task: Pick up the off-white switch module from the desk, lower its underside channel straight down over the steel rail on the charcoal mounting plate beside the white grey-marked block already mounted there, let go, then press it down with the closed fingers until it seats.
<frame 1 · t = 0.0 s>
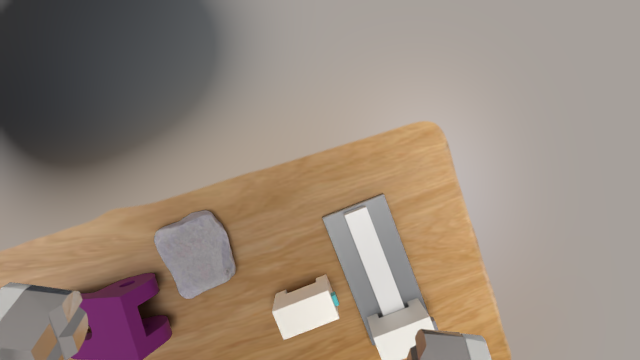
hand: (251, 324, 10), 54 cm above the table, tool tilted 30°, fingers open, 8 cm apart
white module: (306, 296, 67), on the table
white grey-marked block: (396, 320, 66), resting on rail plate
mounting bracket: (113, 310, 67), on the table
rail plate: (377, 269, 66), on the table
stone block: (203, 248, 66), on the table
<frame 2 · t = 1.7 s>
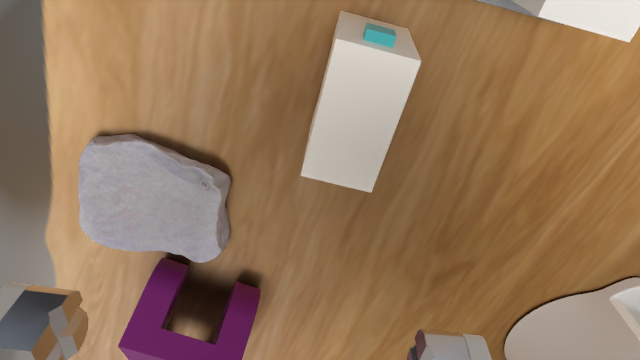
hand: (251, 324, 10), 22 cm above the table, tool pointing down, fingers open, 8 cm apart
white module: (355, 81, 29), on the table
mounting bracket: (198, 313, 45), on the table
stone block: (165, 182, 36), on the table
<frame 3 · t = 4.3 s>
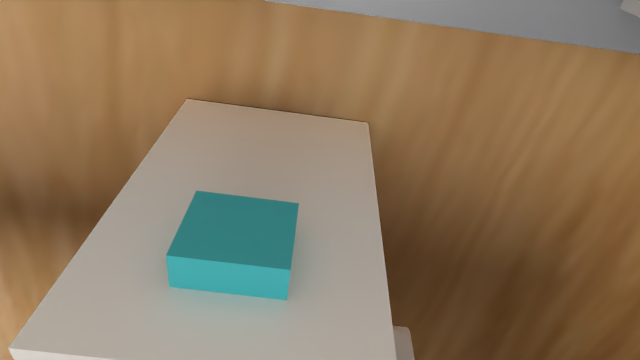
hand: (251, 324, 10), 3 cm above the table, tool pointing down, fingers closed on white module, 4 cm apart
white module: (268, 237, 13), on the table, touching gripper
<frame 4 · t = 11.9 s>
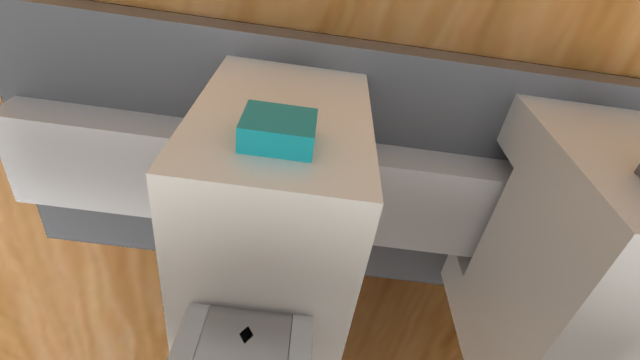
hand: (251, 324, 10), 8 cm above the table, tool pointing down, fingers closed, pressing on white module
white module: (286, 173, 16), point 1 cm above the table, touching gripper, rail plate
white grey-marked block: (529, 203, 16), resting on rail plate
rail plate: (312, 161, 17), on the table
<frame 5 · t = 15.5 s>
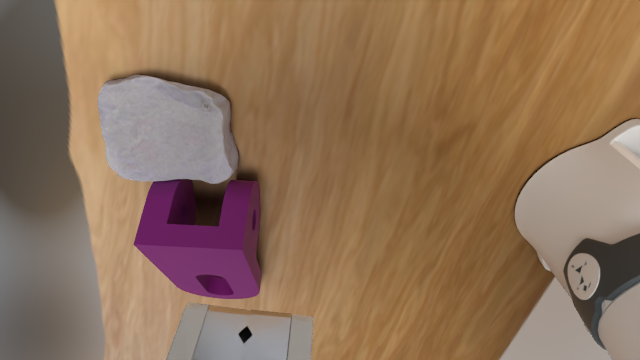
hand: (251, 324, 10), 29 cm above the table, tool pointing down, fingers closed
mounting bracket: (221, 230, 48), on the table
stone block: (175, 118, 40), on the table
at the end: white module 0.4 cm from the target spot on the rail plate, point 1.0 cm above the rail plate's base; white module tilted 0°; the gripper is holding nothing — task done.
